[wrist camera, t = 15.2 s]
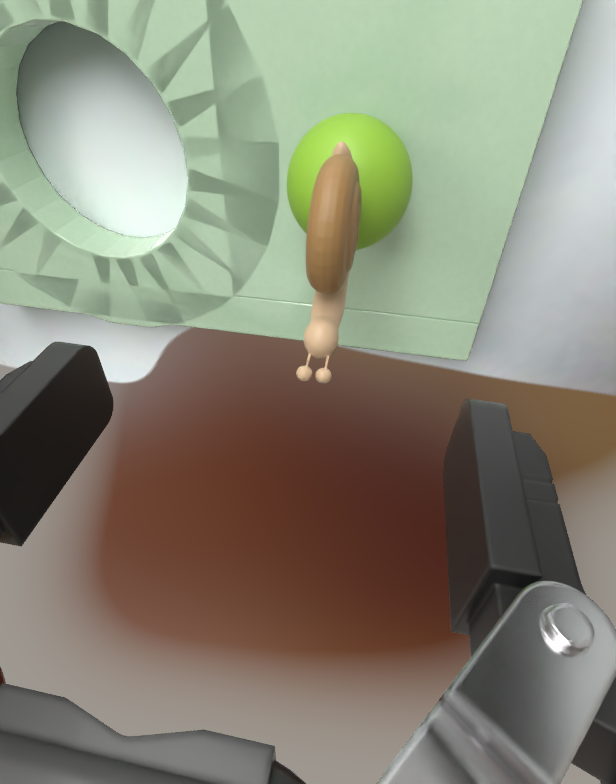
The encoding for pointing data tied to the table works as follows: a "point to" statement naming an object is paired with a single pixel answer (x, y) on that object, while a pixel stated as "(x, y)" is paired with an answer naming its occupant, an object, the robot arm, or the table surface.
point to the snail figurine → (343, 211)
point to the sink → (273, 154)
